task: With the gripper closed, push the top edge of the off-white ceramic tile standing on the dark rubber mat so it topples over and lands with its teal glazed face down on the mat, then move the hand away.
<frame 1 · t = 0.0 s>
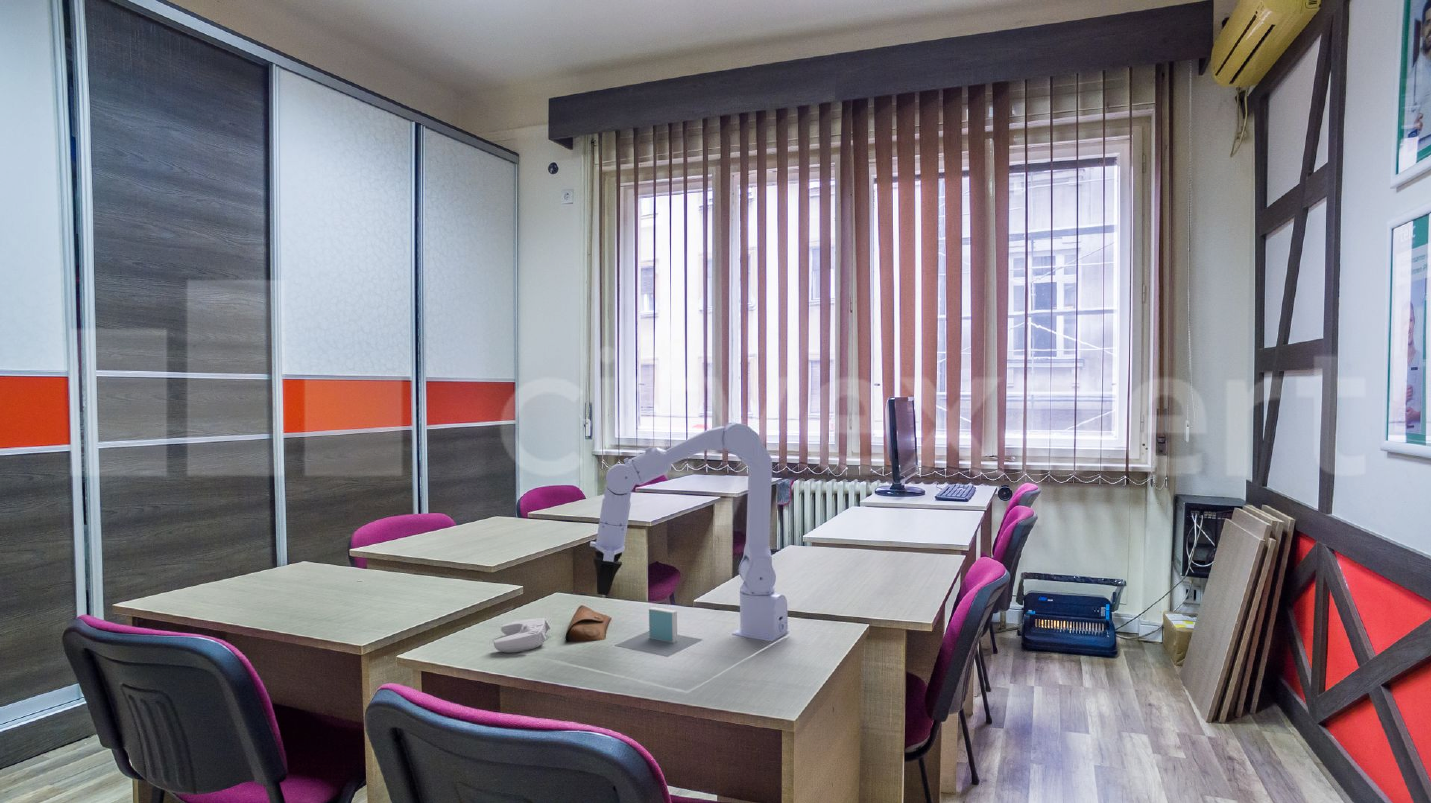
hand: (603, 589, 155), 11 cm above the table, fingers open, 7 cm apart
tile: (663, 639, 155), resting on mat
sunglasses case: (590, 633, 163), on the table
mat: (659, 644, 153), on the table
game controller: (523, 645, 155), on the table
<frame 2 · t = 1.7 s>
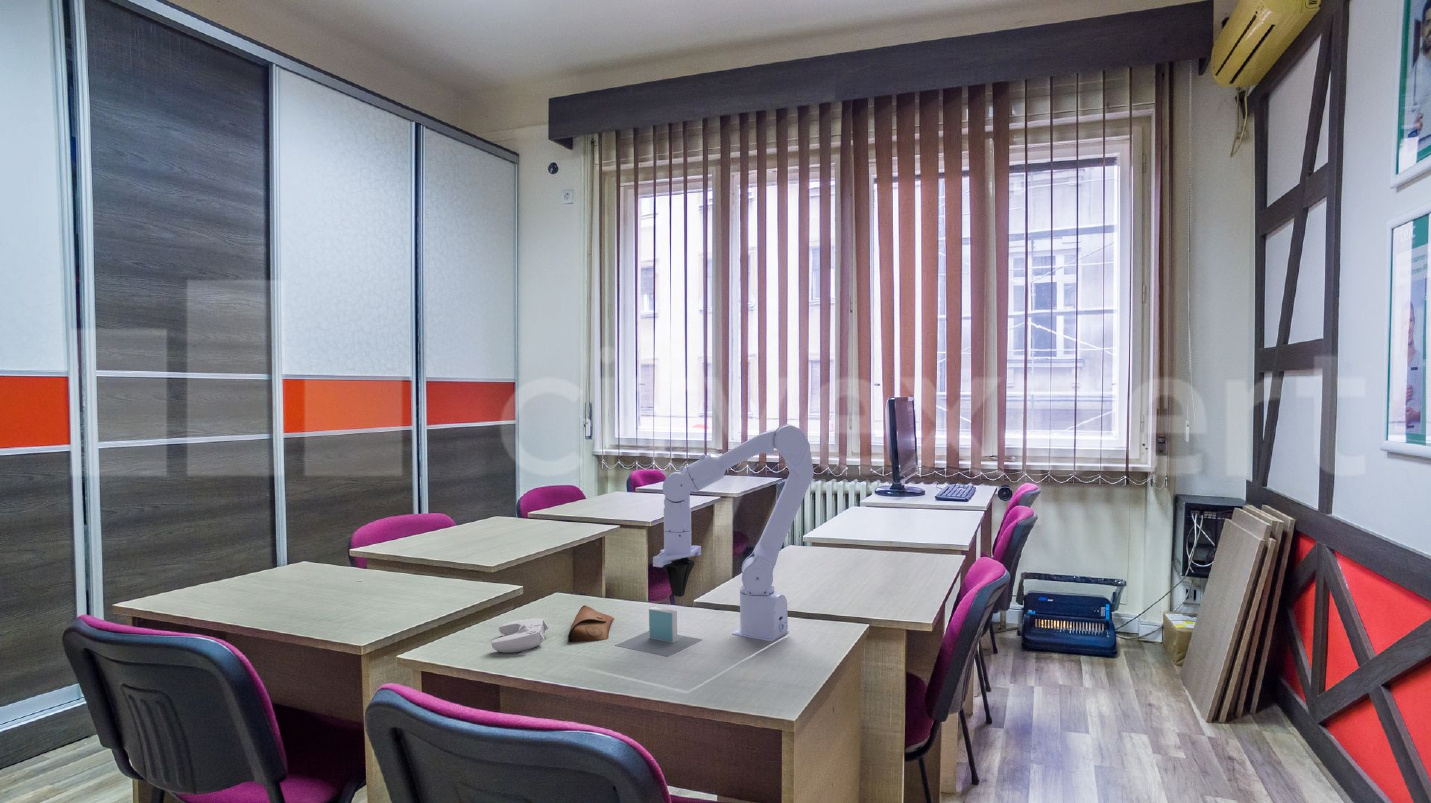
hand: (678, 595, 160), 8 cm above the table, fingers closed
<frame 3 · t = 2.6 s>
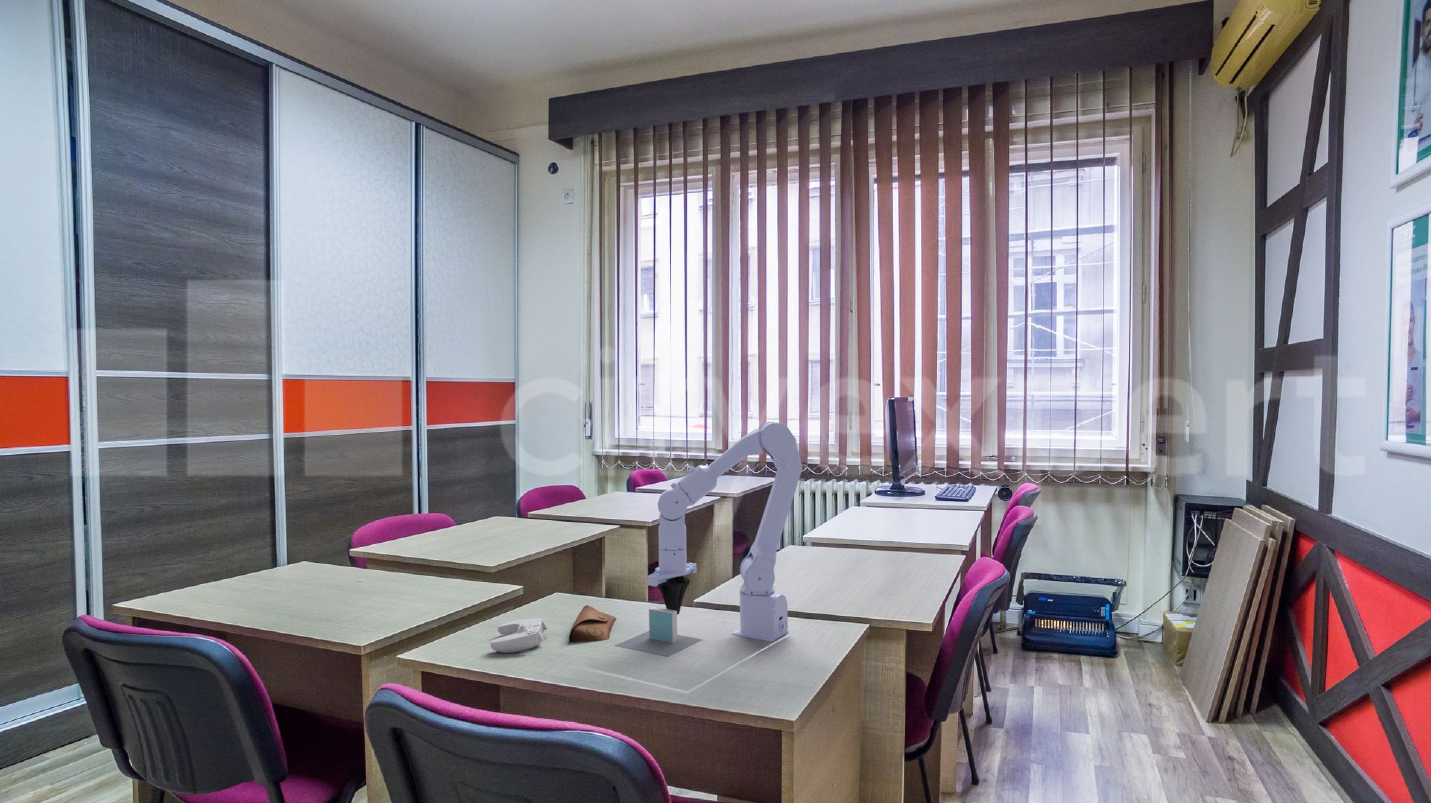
hand: (673, 613, 158), 5 cm above the table, fingers closed
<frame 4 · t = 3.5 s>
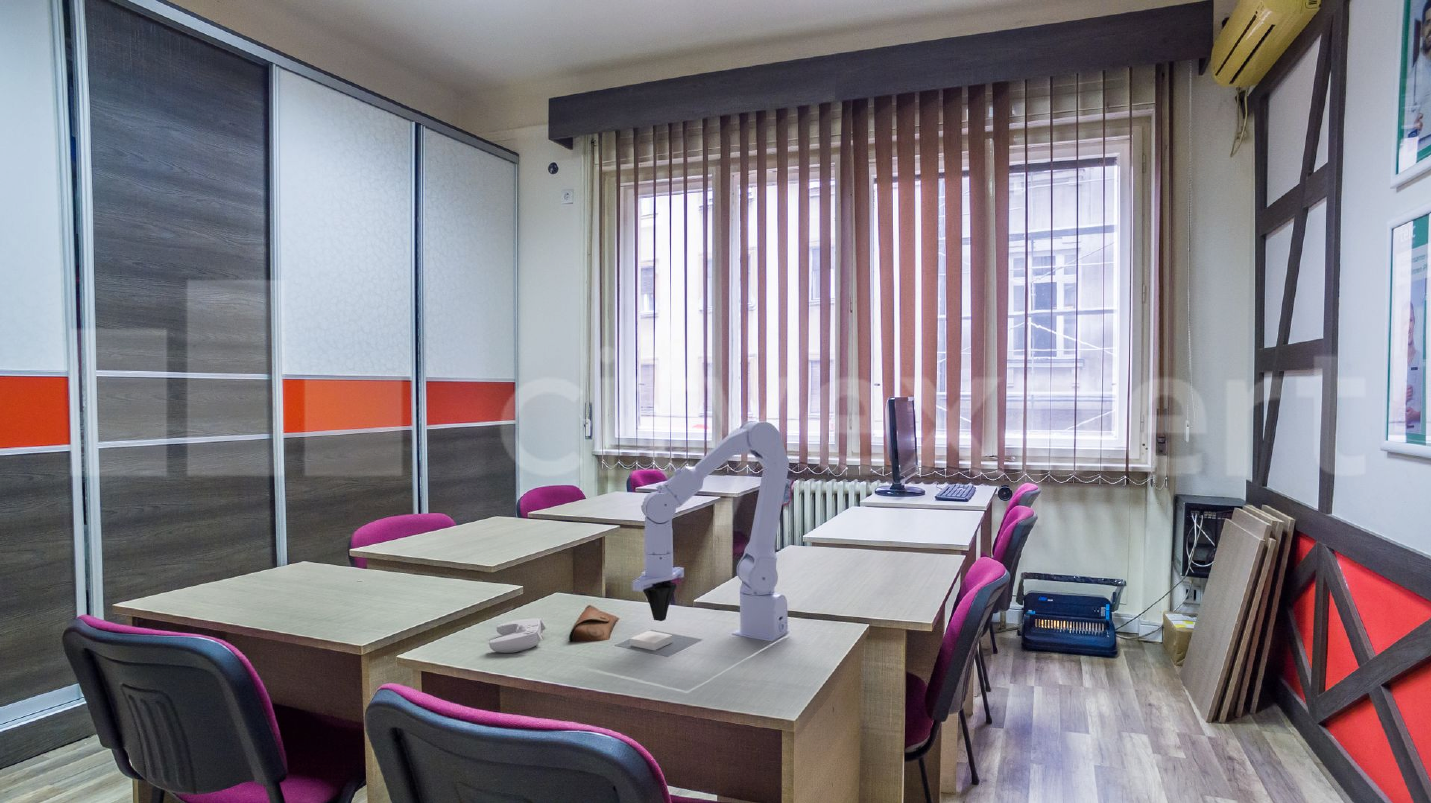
hand: (659, 619, 154), 5 cm above the table, fingers closed
tile: (660, 636, 154), point 1 cm above the table, tilted 90°, touching mat
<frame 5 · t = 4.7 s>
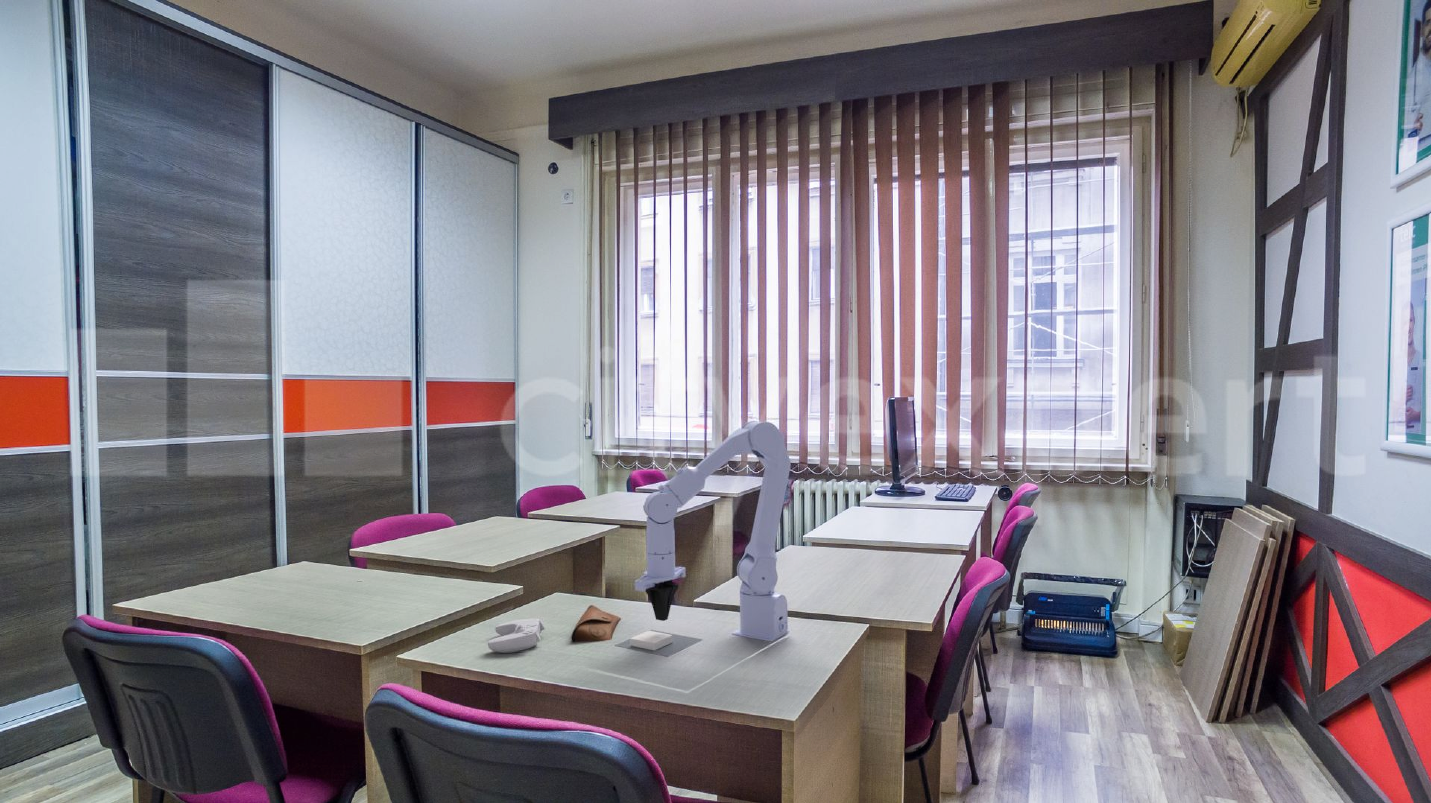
hand: (661, 619, 155), 5 cm above the table, fingers closed
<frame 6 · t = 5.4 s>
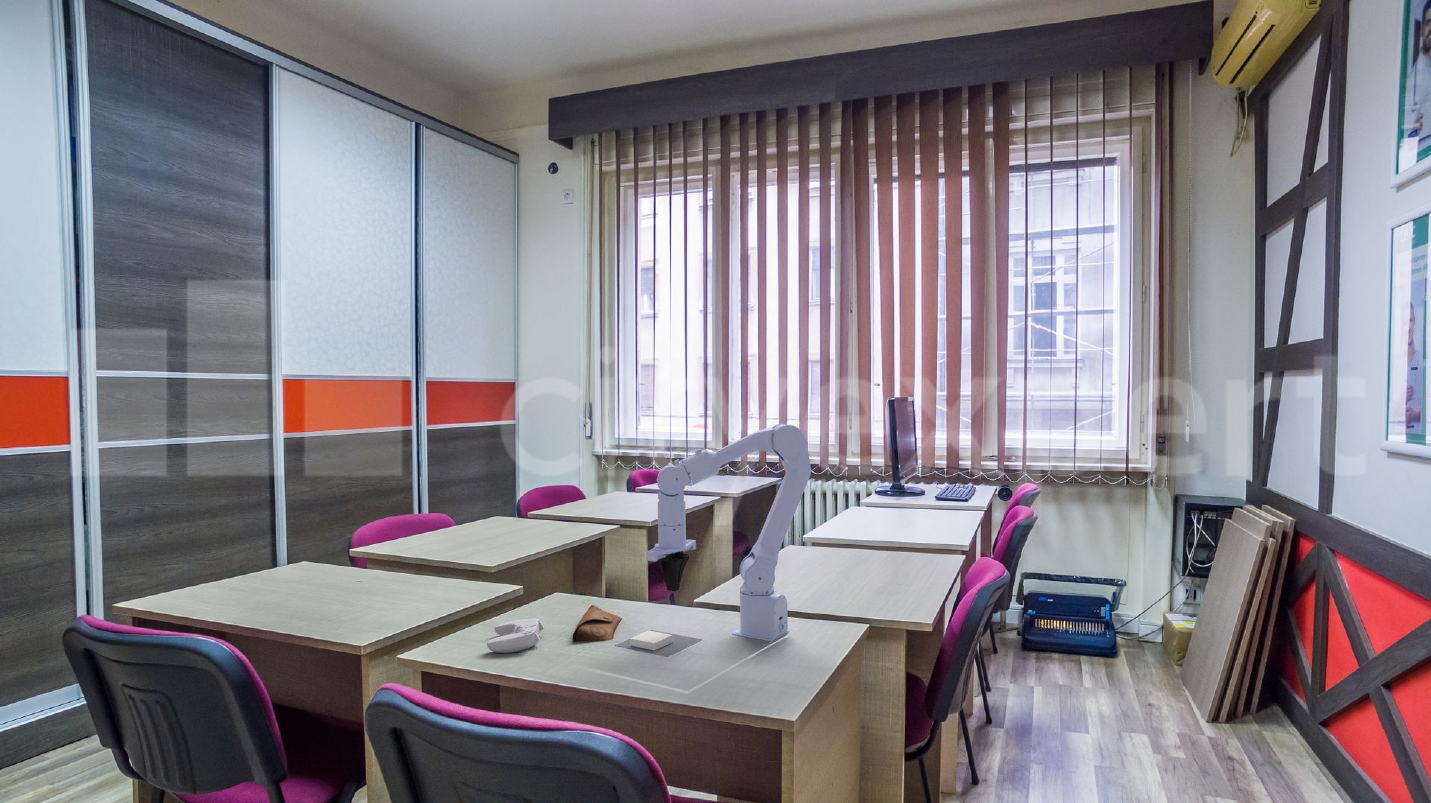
hand: (672, 590, 158), 10 cm above the table, fingers closed
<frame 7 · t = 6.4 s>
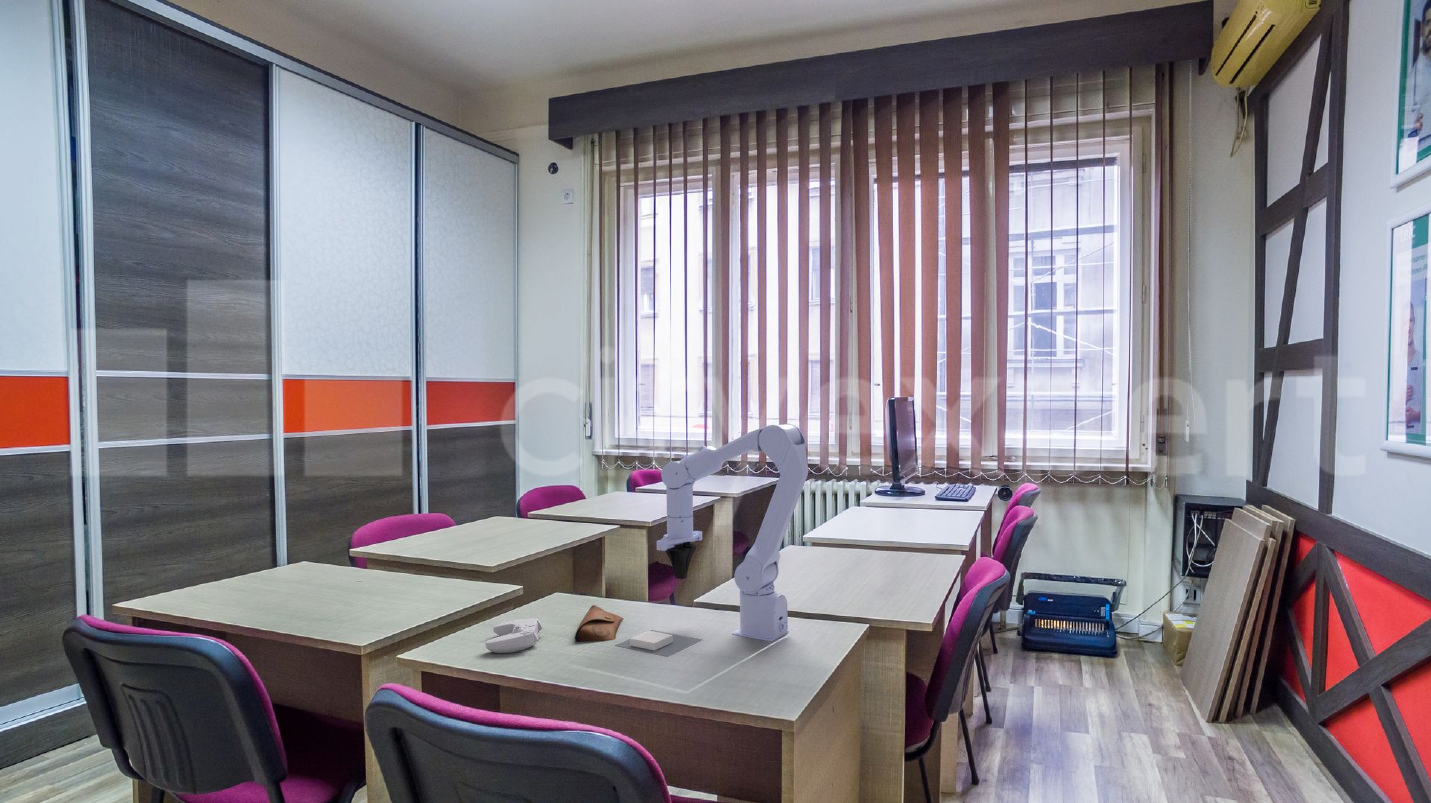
hand: (680, 578, 167), 10 cm above the table, fingers closed
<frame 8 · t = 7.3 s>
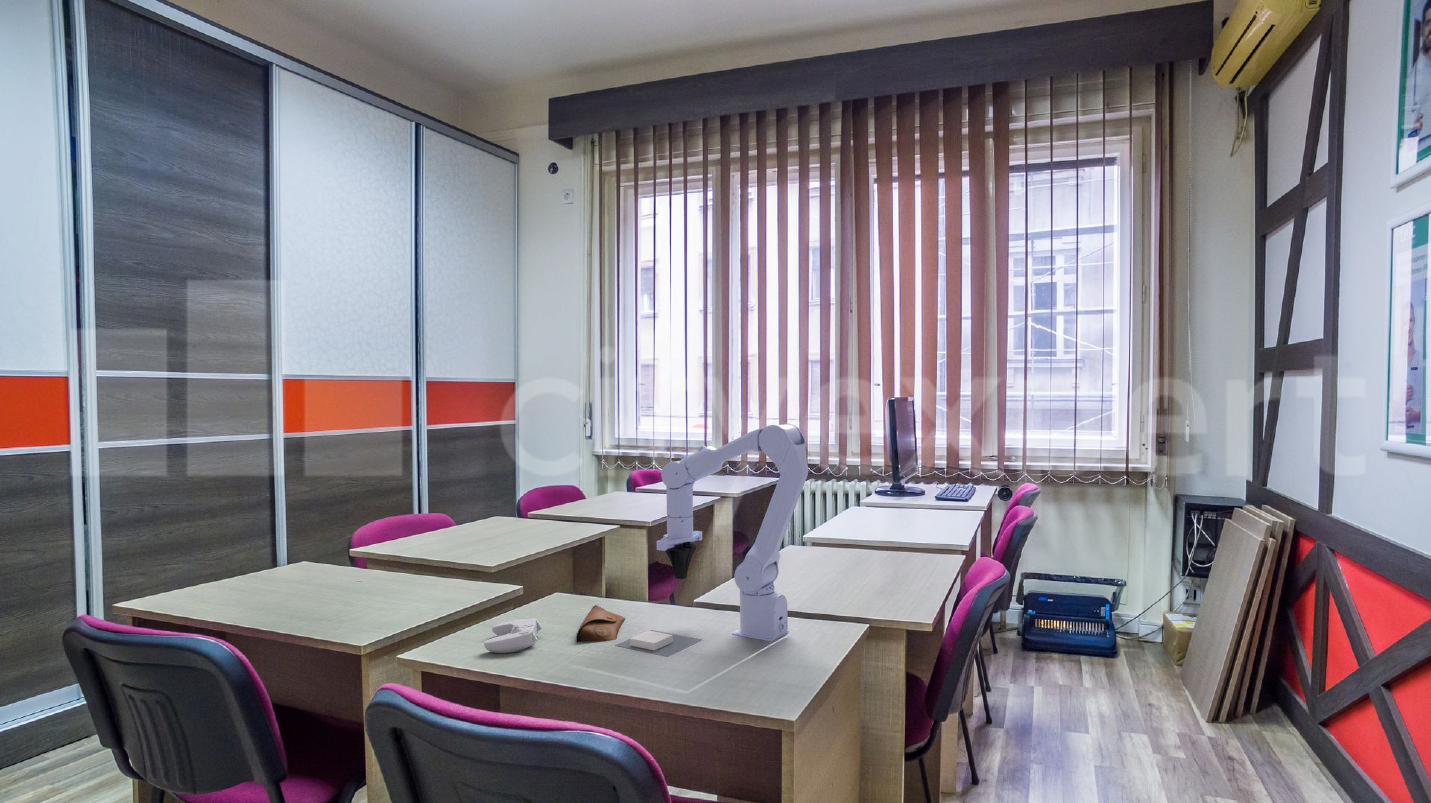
hand: (680, 578, 167), 10 cm above the table, fingers closed
at the end: tile tilted 90°; tile inside the target area (1.7 cm from its centre), point 1.2 cm above the table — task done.
